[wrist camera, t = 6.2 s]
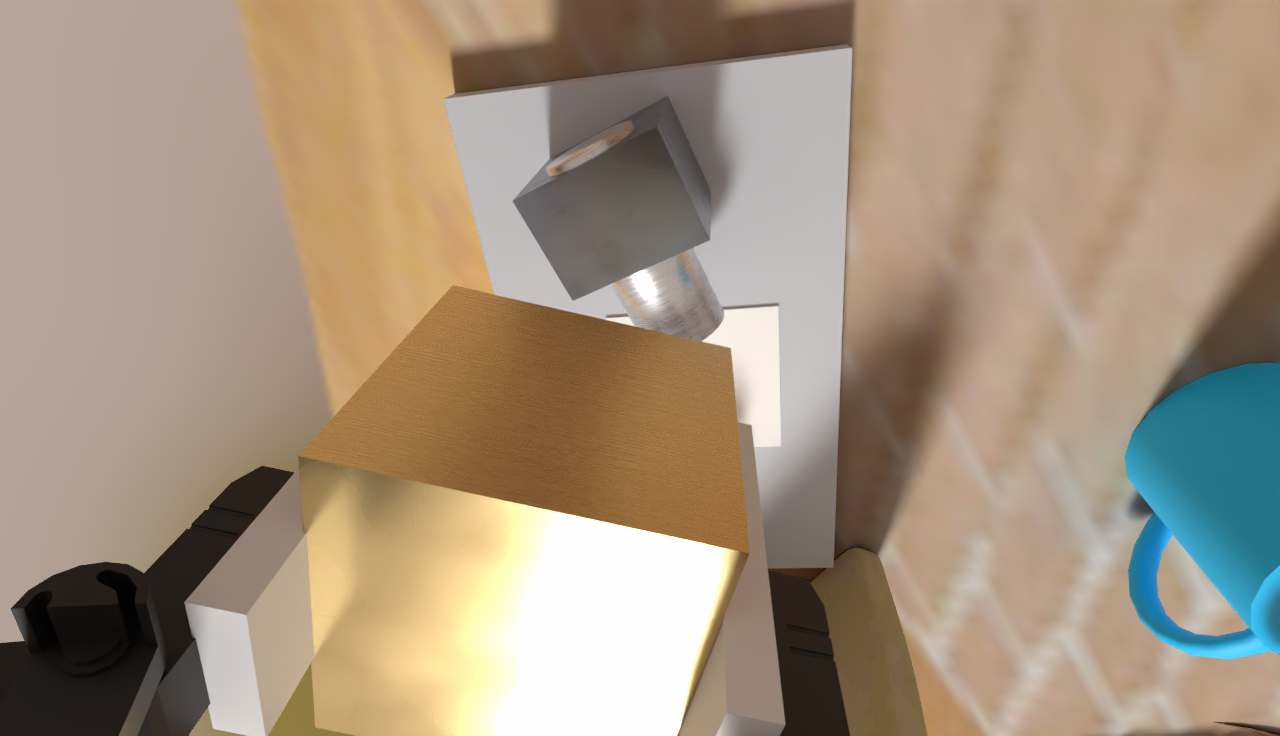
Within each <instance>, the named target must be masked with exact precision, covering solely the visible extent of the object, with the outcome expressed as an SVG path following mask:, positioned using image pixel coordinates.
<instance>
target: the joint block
mask: <svg viewBox="0 0 1280 736" xmlns="http://www.w3.org/2000/svg"><path fill="white" fill-rule="evenodd" d="M298 457H299V474H300V490H301V506H302V522H303V532H305V533H307V548H308V564H309V579H310V595H311V611H312V627H313V642H314V658H313V660H312V661H311V666H312V681H313V696H314V713H315V727H317V728H322V729H326V730H331V731H337V732H342V733H346V734H351V735H356V736H677V733H678V731H679V728H680V726H681V723H682V721H683V718H684V716H685V713H686V711H687V708H688V706H689V703H690V701H691V698H692V696H693V693H694V691H695V688H696V686H697V683H698V681H699V678H700V676H701V673H702V671H703V668H704V666H705V663H706V661H707V658H708V656H709V653H710V651H711V648H712V646H713V643H714V641H715V638H716V636H717V634H718V631H719V629H720V626H721V624H722V621H723V619H724V616H725V614H726V611H727V609H728V606H729V604H730V601H731V599H732V596H733V594H734V591H735V589H736V586H737V584H738V581H739V579H740V576H741V574H742V571H743V569H744V566H745V564H746V561H747V559H748V556H749V554H750V552H749V541H748V530H747V520H746V509H745V498H744V487H743V476H742V465H741V454H740V443H739V432H738V421H737V410H736V399H735V388H734V377H733V366H732V355H731V348H728V347H724V346H720V345H715V344H711V343H706V342H702V341H697V340H693V339H689V338H684V337H680V336H675V335H671V334H666V333H662V332H658V331H653V330H649V329H644V328H640V327H635V326H631V325H627V324H622V323H618V322H613V321H609V320H604V319H600V318H595V317H591V316H587V315H582V314H578V313H573V312H569V311H564V310H560V309H556V308H551V307H547V306H542V305H538V304H533V303H529V302H525V301H520V300H516V299H511V298H507V297H502V296H498V295H494V294H489V293H485V292H480V291H476V290H471V289H467V288H463V287H458V286H454V285H453V286H452V287H451V288H450V289H449V290H448V291H447V292H446V294H445V295H444V296H443V297H442V298H441V299H440V300H439V301H438V302H437V303H436V305H435V306H434V307H433V308H432V309H431V310H430V311H429V312H428V313H427V314H426V316H425V317H424V318H423V319H422V320H421V321H420V322H419V323H418V324H417V326H416V327H415V328H414V329H413V330H412V331H411V332H410V333H409V334H408V335H407V337H406V338H405V339H404V340H403V341H402V342H401V343H400V344H399V345H398V346H397V348H396V349H395V350H394V351H393V352H392V353H391V354H390V355H389V356H388V358H387V359H386V360H385V361H384V362H383V363H382V364H381V365H380V366H379V367H378V369H377V370H376V371H375V372H374V373H373V374H372V375H371V376H370V377H369V379H368V380H367V381H366V382H365V383H364V384H363V385H362V386H361V387H360V388H359V390H358V391H357V392H356V393H355V394H354V395H353V396H352V397H351V398H350V399H349V401H348V402H347V403H346V404H345V405H344V406H343V407H342V408H341V409H340V411H339V412H338V413H337V414H336V415H335V416H334V417H333V418H332V419H331V420H330V422H329V423H328V424H327V425H326V426H325V427H324V428H323V429H322V431H321V432H320V433H319V434H318V435H317V436H316V437H315V438H314V439H313V440H312V441H311V443H310V444H309V445H308V446H307V447H306V448H305V449H304V450H303V451H302V452H301V454H300V455H299V456H298Z"/></svg>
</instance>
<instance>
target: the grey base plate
mask: <svg viewBox="0 0 1280 736" xmlns="http://www.w3.org/2000/svg"><path fill="white" fill-rule="evenodd" d="M851 74H852V47H850V46H848V45H847V44H844V45H836V46H828V47H820V48H812V49H804V50H796V51H788V52H780V53H772V54H765V55H757V56H749V57H741V58H733V59H725V60H717V61H709V62H701V63H693V64H685V65H678V66H670V67H662V68H654V69H646V70H638V71H630V72H622V73H614V74H606V75H598V76H590V77H583V78H575V79H567V80H559V81H551V82H543V83H535V84H527V85H519V86H511V87H503V88H496V89H488V90H480V91H472V92H464V93H456V94H453V95H451V96H449V97H446V98H444V99H443V101H444V104H445V108H446V112H447V116H448V120H449V124H450V127H451V131H452V135H453V139H454V143H455V147H456V150H457V154H458V158H459V162H460V166H461V170H462V173H463V177H464V181H465V185H466V189H467V192H468V196H469V200H470V204H471V208H472V212H473V215H474V219H475V223H476V227H477V231H478V235H479V238H480V242H481V246H482V250H483V254H484V258H485V261H486V265H487V269H488V273H489V277H490V280H491V284H492V288H493V292H494V295H498V296H502V297H507V298H511V299H516V300H520V301H525V302H529V303H533V304H538V305H542V306H547V307H551V308H556V309H560V310H564V311H569V312H573V313H578V314H582V315H587V316H591V317H595V318H600V319H604V320H609V321H613V322H618V323H622V324H627V325H631V326H634V325H633V323H632V321H631V320H630V318H629V316H628V314H627V312H626V311H625V309H624V307H623V305H622V304H621V302H620V300H619V298H618V297H617V295H616V293H615V291H614V289H613V288H612V286H611V284H610V285H608V286H606V287H603V288H601V289H599V290H597V291H594V292H592V293H590V294H588V295H585V296H583V297H581V298H579V299H576V300H574V301H572V299H571V297H570V296H569V294H568V292H567V291H566V289H565V287H564V286H563V284H562V282H561V281H560V279H559V277H558V276H557V274H556V272H555V271H554V269H553V267H552V266H551V264H550V263H549V261H548V259H547V258H546V256H545V254H544V253H543V251H542V249H541V248H540V246H539V244H538V243H537V241H536V239H535V238H534V236H533V234H532V233H531V231H530V229H529V228H528V226H527V224H526V223H525V221H524V219H523V218H522V216H521V214H520V213H519V211H518V210H517V208H516V206H515V205H514V203H513V200H514V198H515V197H516V196H517V195H518V194H519V193H520V192H521V191H522V189H523V188H524V187H525V186H526V185H527V184H528V183H529V181H530V180H531V179H532V178H533V177H534V176H535V175H536V173H537V172H538V171H539V170H540V169H541V168H542V167H543V165H544V164H545V163H546V162H547V161H548V160H549V159H550V158H551V157H553V156H555V155H557V154H559V153H561V152H563V151H565V150H567V149H568V148H570V147H572V146H574V145H576V144H578V143H580V142H582V141H584V140H585V139H587V138H589V137H591V136H593V135H595V134H597V133H599V132H601V131H602V130H604V129H606V128H608V127H610V126H612V125H614V124H616V123H617V122H619V121H621V120H623V119H625V118H627V117H629V116H631V115H633V114H634V113H636V112H638V111H640V110H642V109H644V108H646V107H648V106H650V105H651V104H653V103H655V102H657V101H659V100H661V99H663V98H665V97H667V96H668V97H669V99H670V102H671V104H672V106H673V108H674V110H675V113H676V115H677V117H678V119H679V121H680V124H681V126H682V128H683V130H684V132H685V135H686V137H687V139H688V141H689V143H690V146H691V148H692V150H693V152H694V154H695V157H696V159H697V161H698V163H699V165H700V168H701V170H702V172H703V174H704V176H705V179H706V181H707V183H708V185H709V187H710V190H711V222H710V240H709V241H707V242H705V243H703V244H700V245H698V246H696V247H694V248H693V249H694V251H695V253H696V255H697V257H698V259H699V261H700V263H701V265H702V267H703V269H704V271H705V273H706V275H707V277H708V280H709V282H710V284H711V286H712V288H713V290H714V292H715V294H716V296H717V298H718V300H719V302H720V304H721V306H722V308H723V310H724V319H723V321H722V323H721V324H720V326H719V327H718V328H717V329H716V330H715V331H714V332H713V333H712V334H711V335H710V336H708V337H707V338H706V339H704V340H703V341H702V342H706V343H711V344H715V345H720V346H724V347H728V348H731V355H732V366H733V377H734V388H735V399H736V410H737V421H738V422H740V423H744V424H749V425H752V434H753V442H754V451H755V460H756V469H757V478H758V487H759V495H760V504H761V513H762V522H763V531H764V540H765V549H766V557H767V566H768V569H771V568H834V542H835V515H836V487H837V460H838V432H839V405H840V377H841V349H842V322H843V294H844V267H845V239H846V212H847V184H848V157H849V129H850V102H851Z"/></svg>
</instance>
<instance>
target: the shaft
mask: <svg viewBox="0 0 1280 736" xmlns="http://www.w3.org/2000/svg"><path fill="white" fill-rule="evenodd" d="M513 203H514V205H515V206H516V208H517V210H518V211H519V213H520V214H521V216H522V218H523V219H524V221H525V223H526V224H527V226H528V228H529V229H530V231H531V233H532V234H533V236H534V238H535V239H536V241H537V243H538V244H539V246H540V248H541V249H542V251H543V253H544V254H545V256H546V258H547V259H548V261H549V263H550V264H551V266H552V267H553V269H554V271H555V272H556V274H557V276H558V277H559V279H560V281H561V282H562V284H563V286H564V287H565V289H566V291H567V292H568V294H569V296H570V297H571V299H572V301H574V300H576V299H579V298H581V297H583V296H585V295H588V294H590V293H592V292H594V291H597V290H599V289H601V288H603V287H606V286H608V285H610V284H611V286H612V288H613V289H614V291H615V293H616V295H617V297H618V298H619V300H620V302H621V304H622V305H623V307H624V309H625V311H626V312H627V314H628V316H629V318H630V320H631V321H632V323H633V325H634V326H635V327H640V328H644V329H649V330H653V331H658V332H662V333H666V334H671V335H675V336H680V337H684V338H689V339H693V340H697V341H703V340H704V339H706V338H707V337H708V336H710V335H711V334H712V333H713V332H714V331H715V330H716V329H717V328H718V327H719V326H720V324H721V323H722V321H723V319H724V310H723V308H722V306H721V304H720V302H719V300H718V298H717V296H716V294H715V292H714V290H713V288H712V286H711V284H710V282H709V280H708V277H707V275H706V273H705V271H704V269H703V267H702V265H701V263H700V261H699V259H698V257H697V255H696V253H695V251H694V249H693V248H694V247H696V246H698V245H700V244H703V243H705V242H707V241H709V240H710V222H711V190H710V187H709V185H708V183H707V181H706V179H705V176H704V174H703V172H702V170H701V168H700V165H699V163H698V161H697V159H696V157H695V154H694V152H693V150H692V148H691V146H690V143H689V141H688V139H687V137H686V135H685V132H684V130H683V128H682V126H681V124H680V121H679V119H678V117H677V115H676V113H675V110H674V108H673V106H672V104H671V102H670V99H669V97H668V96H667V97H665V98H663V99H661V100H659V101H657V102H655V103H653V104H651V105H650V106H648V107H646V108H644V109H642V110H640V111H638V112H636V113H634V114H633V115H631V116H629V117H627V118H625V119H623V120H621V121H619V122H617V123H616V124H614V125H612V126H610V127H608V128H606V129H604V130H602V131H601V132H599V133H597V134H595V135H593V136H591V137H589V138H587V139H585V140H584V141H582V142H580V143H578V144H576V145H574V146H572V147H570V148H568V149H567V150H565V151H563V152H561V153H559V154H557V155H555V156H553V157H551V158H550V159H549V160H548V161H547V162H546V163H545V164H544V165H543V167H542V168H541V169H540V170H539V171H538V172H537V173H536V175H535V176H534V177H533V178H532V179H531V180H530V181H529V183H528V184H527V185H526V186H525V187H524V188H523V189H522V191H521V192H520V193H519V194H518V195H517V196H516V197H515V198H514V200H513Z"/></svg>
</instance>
